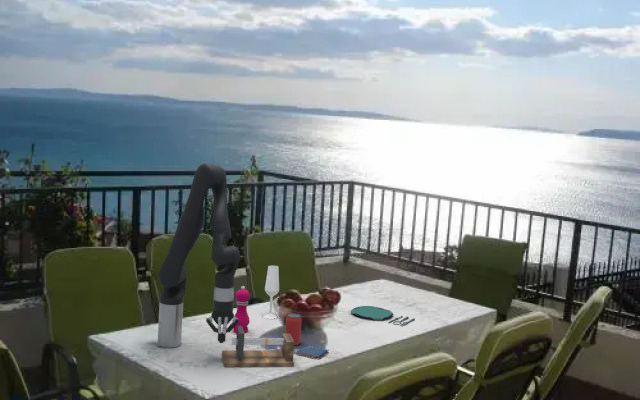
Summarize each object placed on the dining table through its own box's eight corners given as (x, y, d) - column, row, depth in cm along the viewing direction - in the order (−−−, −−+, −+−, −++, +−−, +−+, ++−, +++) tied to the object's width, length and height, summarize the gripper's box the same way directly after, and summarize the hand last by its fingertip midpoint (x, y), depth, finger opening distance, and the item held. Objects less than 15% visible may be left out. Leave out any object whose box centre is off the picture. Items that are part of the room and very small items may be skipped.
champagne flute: (276, 319, 318) (280, 268, 315) (262, 318, 318) (265, 267, 315) (277, 315, 324) (281, 265, 322) (263, 314, 324) (266, 264, 322)
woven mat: (305, 349, 280) (305, 344, 280) (329, 354, 276) (329, 349, 276) (294, 356, 271) (295, 351, 271) (319, 361, 267) (319, 356, 267)
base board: (224, 367, 252) (225, 343, 251) (221, 354, 266) (223, 331, 265) (293, 366, 258) (295, 343, 257) (287, 353, 271) (289, 331, 270)
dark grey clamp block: (237, 356, 255) (239, 333, 254) (235, 348, 264) (237, 326, 263) (243, 356, 256) (244, 333, 255) (240, 348, 265) (242, 326, 264)
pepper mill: (246, 334, 292) (248, 288, 290) (229, 332, 293) (232, 287, 291) (251, 329, 299) (253, 285, 297) (235, 327, 300) (237, 283, 298)
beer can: (288, 346, 280) (290, 318, 279) (281, 341, 286) (283, 313, 285) (302, 345, 284) (304, 316, 282) (295, 340, 289) (297, 312, 288)
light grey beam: (232, 345, 258) (232, 339, 258) (231, 343, 260) (232, 337, 260) (284, 345, 262) (284, 339, 262) (283, 343, 264) (283, 337, 264)
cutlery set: (364, 307, 350) (364, 303, 349) (417, 320, 334) (418, 316, 333) (344, 315, 333) (344, 311, 333) (399, 330, 317) (399, 325, 317)
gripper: (240, 295, 264) (237, 339, 266) (205, 295, 261) (203, 339, 263) (242, 301, 257) (239, 345, 259) (206, 300, 254) (204, 345, 256)
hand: (221, 342), depth 261 cm, fingers closed
